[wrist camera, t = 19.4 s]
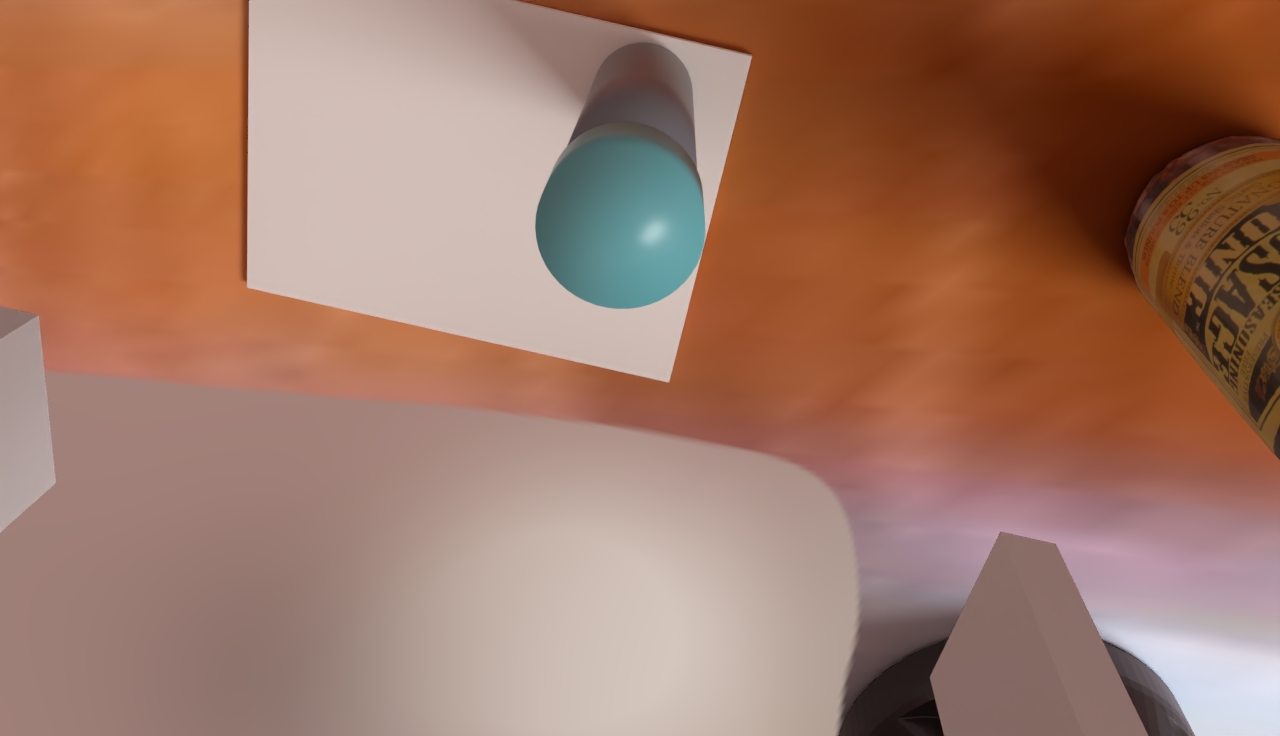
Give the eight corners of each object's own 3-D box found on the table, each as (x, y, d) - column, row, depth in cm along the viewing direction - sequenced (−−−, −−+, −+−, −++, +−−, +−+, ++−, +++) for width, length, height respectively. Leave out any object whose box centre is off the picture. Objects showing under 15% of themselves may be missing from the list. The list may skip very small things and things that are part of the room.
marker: (716, 107, 31) (737, 252, 19) (630, 167, 32) (601, 337, 20) (656, 16, 29) (641, 111, 18) (568, 80, 30) (500, 209, 19)
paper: (669, 378, 36) (668, 382, 35) (250, 284, 35) (247, 287, 35) (751, 54, 30) (752, 56, 30) (253, -61, 30) (249, -61, 29)
